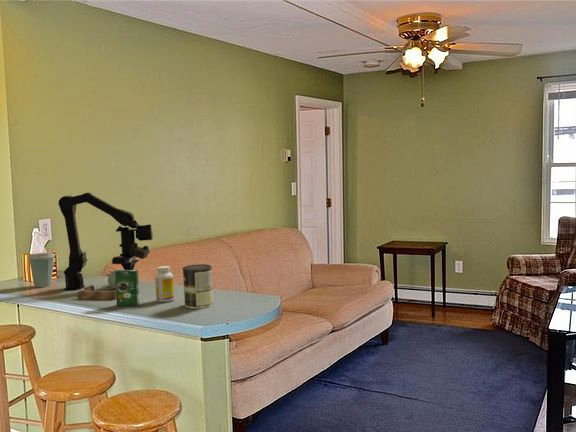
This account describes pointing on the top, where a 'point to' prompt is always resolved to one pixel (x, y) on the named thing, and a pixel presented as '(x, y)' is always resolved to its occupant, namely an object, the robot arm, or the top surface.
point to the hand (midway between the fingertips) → (130, 277)
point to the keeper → (96, 294)
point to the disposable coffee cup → (42, 268)
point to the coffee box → (127, 287)
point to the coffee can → (198, 286)
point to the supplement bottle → (164, 284)
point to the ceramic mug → (112, 280)
